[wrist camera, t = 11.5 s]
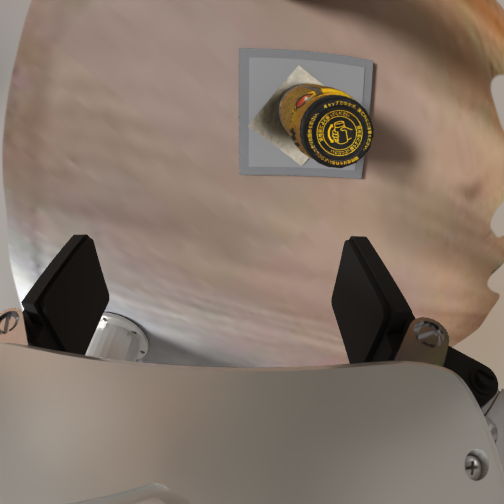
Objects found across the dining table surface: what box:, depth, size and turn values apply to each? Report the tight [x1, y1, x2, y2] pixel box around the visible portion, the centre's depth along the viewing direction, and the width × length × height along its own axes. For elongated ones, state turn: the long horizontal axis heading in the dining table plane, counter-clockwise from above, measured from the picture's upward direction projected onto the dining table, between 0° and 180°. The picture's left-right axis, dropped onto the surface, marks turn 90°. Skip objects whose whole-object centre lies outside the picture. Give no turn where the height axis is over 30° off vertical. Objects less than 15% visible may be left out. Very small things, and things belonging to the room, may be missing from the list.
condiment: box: [248, 65, 373, 168], centre depth 23 cm, size 7×8×12 cm
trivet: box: [239, 48, 373, 179], centre depth 29 cm, size 14×14×1 cm
